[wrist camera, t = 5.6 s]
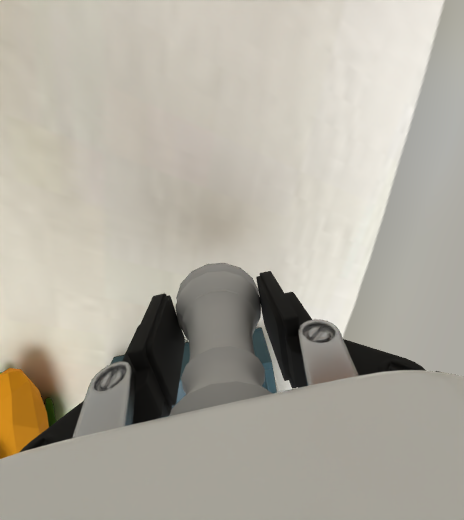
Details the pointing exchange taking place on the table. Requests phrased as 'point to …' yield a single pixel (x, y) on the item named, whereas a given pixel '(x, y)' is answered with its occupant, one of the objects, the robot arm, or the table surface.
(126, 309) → the table surface
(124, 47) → the table surface
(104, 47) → the table surface
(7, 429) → the corn
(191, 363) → the rook chess piece
